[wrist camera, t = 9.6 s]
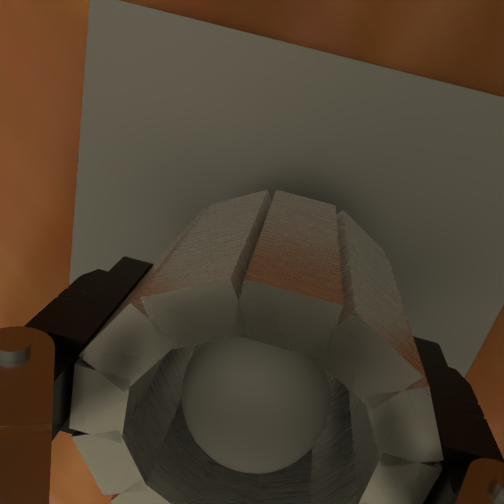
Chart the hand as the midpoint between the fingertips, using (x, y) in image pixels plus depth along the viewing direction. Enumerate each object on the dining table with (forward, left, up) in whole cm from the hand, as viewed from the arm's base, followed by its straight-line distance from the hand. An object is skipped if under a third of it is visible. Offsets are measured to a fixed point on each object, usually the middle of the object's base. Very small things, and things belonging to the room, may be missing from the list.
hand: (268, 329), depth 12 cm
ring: (0, 0, -1) cm, 1 cm away
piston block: (0, 0, -8) cm, 8 cm away
